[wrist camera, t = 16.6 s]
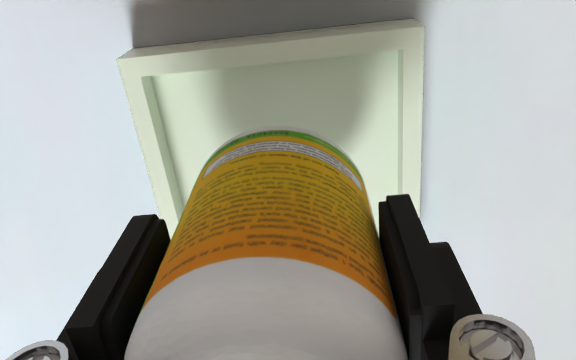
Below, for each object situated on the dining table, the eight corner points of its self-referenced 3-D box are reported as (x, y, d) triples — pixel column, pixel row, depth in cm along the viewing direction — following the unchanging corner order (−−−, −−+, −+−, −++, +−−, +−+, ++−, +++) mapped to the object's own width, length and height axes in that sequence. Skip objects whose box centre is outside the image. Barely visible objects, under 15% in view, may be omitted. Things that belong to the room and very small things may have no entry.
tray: (132, 48, 15) (116, 59, 14) (413, 18, 15) (424, 26, 13) (189, 268, 20) (181, 292, 18) (409, 252, 19) (417, 276, 18)
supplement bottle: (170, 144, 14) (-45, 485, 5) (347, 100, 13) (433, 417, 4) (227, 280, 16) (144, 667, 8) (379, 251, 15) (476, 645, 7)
